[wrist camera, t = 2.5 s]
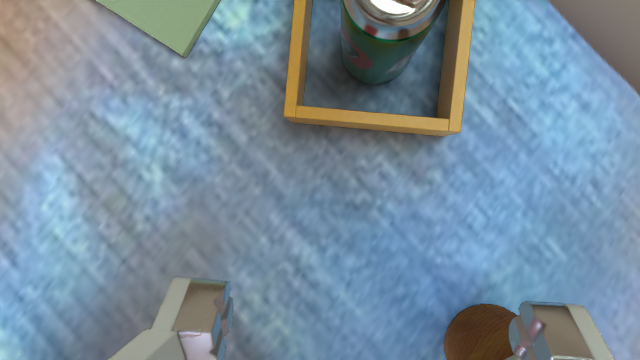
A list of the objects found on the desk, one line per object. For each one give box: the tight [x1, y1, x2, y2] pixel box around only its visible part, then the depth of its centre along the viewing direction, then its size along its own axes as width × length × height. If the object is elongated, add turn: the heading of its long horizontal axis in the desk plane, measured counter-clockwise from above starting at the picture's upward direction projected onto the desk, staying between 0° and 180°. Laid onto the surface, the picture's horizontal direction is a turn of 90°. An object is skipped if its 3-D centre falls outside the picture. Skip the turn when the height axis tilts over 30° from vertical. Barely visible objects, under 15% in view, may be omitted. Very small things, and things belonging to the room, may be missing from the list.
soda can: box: [341, 0, 446, 84], centre depth 24 cm, size 5×5×12 cm
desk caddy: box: [284, 0, 475, 136], centre depth 28 cm, size 12×12×4 cm
